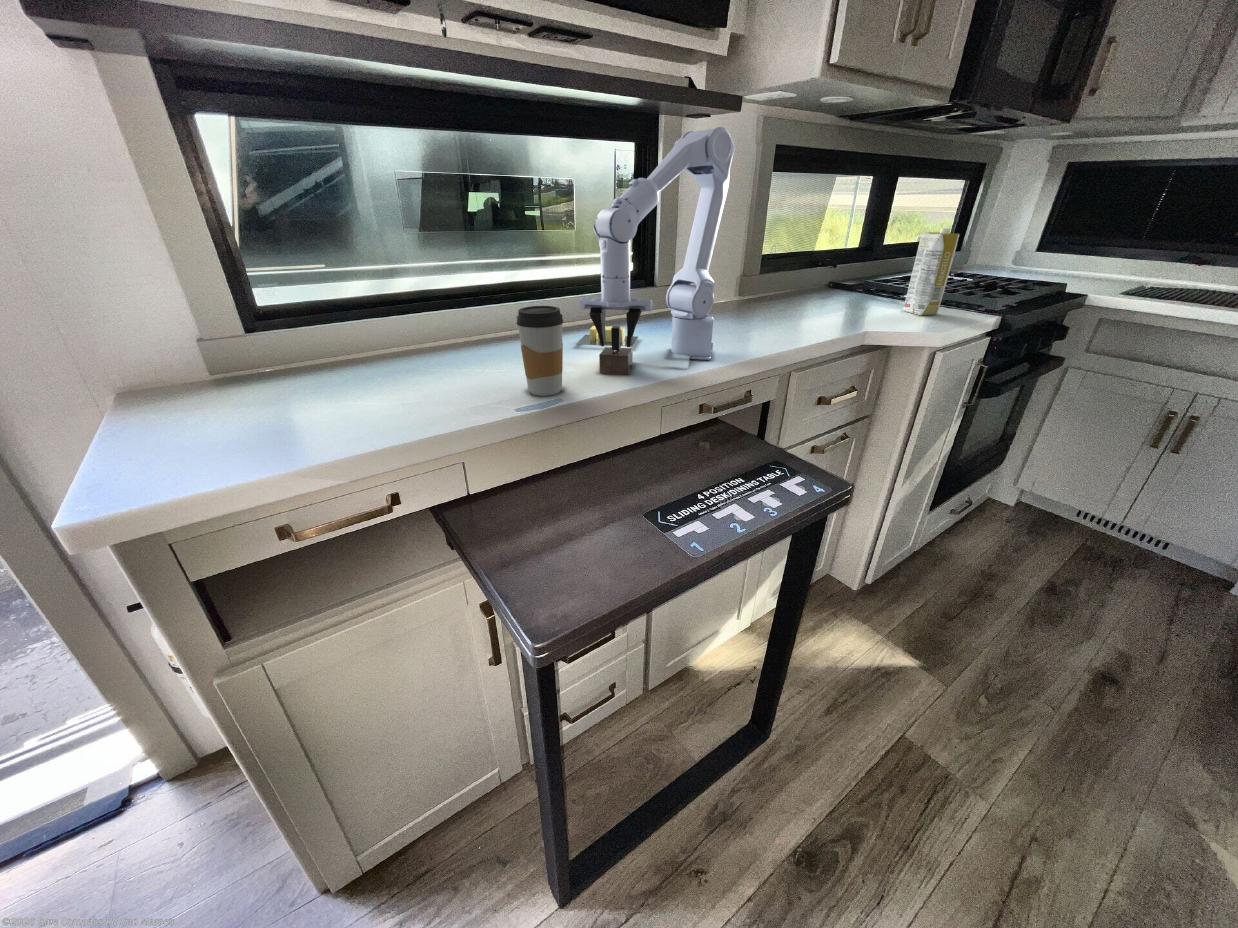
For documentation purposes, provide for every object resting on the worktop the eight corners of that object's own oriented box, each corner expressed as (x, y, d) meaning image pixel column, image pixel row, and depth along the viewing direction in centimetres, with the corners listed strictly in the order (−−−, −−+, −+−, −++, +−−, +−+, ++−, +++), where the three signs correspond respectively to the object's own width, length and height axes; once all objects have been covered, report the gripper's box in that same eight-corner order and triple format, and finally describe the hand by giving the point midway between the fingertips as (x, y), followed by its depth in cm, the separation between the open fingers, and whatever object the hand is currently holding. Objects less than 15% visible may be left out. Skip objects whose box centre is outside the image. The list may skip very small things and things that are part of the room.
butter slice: (597, 337, 128) (597, 326, 127) (594, 341, 125) (594, 329, 124) (593, 337, 129) (592, 325, 127) (589, 341, 125) (589, 329, 124)
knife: (621, 368, 109) (621, 325, 104) (618, 372, 106) (618, 329, 102) (614, 367, 109) (613, 325, 105) (611, 371, 106) (610, 328, 102)
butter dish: (638, 340, 130) (638, 336, 130) (632, 350, 121) (632, 346, 121) (585, 338, 132) (585, 334, 132) (575, 348, 123) (575, 344, 123)
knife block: (632, 366, 110) (632, 348, 108) (628, 374, 104) (628, 355, 103) (605, 365, 111) (605, 347, 109) (599, 373, 105) (599, 354, 103)
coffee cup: (576, 390, 96) (572, 309, 89) (539, 401, 91) (531, 316, 84) (551, 380, 101) (545, 303, 94) (514, 390, 97) (506, 309, 90)
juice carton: (942, 315, 155) (966, 229, 144) (919, 316, 154) (942, 229, 142) (919, 309, 163) (941, 227, 152) (898, 310, 162) (918, 228, 150)
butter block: (625, 338, 127) (625, 326, 126) (622, 342, 124) (622, 330, 123) (601, 338, 128) (601, 326, 127) (598, 341, 125) (598, 329, 123)
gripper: (574, 278, 96) (577, 349, 103) (649, 280, 94) (648, 352, 100) (583, 274, 103) (585, 340, 109) (654, 275, 100) (652, 343, 107)
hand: (616, 345), depth 105 cm, fingers open, 5 cm apart
